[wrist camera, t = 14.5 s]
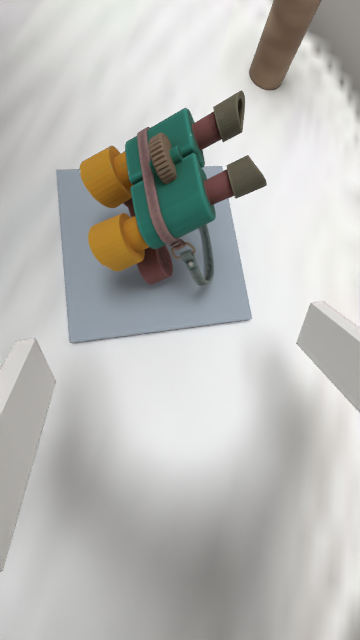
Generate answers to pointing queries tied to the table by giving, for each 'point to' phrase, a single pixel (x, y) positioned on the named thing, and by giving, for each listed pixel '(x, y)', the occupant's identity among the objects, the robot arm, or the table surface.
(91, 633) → the table surface
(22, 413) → the robot arm
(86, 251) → the grey mat
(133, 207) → the binoculars
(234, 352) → the table surface
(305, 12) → the post gap
